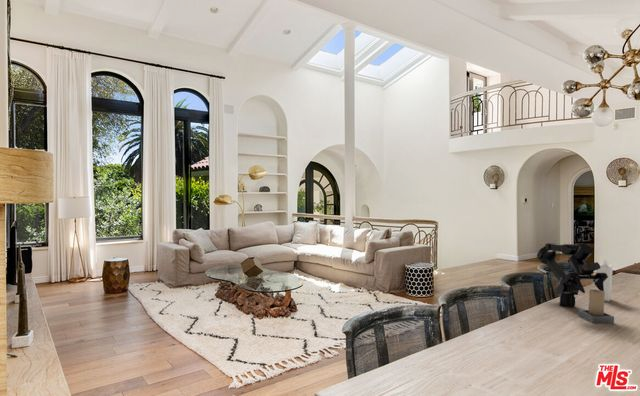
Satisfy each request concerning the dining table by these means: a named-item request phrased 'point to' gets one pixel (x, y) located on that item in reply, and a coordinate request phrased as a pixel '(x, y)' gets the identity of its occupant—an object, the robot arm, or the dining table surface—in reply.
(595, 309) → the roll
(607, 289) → the milk
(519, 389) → the dining table surface
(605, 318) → the tray
